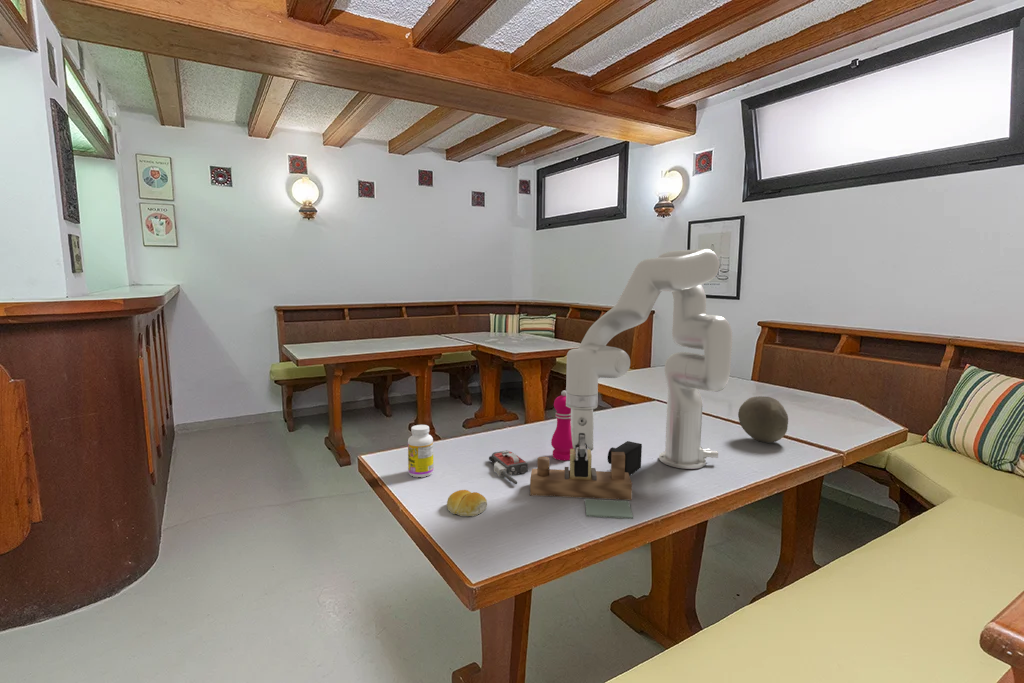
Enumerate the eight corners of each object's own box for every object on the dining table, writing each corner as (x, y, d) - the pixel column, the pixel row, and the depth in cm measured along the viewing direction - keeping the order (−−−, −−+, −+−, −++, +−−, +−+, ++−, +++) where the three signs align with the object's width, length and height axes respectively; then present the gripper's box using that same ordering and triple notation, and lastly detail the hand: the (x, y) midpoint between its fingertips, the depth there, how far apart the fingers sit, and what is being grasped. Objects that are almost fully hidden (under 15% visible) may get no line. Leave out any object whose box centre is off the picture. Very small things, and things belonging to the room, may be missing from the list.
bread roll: (461, 498, 117) (461, 482, 116) (492, 507, 112) (492, 490, 112) (438, 511, 110) (438, 494, 110) (470, 521, 105) (470, 504, 105)
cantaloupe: (761, 433, 168) (764, 390, 166) (797, 446, 154) (800, 400, 153) (728, 437, 163) (730, 393, 161) (761, 451, 150) (764, 403, 148)
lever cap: (590, 472, 122) (590, 447, 121) (591, 479, 117) (591, 453, 117) (569, 472, 122) (570, 446, 122) (570, 478, 118) (570, 452, 117)
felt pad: (628, 502, 114) (628, 500, 114) (633, 518, 106) (633, 517, 106) (584, 500, 115) (584, 498, 115) (586, 516, 107) (586, 514, 107)
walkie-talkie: (482, 463, 140) (512, 489, 123) (481, 448, 140) (512, 472, 122) (509, 458, 144) (542, 483, 126) (509, 444, 144) (543, 466, 126)
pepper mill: (574, 462, 140) (575, 393, 138) (549, 460, 142) (550, 392, 139) (576, 453, 147) (577, 388, 145) (552, 452, 149) (553, 387, 146)
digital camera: (622, 463, 140) (623, 439, 139) (641, 467, 136) (642, 443, 136) (606, 474, 131) (607, 449, 131) (625, 479, 128) (626, 453, 127)
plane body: (627, 487, 123) (628, 449, 121) (631, 500, 116) (633, 459, 114) (531, 483, 125) (532, 445, 124) (530, 495, 118) (530, 455, 117)
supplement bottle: (406, 471, 133) (405, 425, 132) (430, 467, 136) (429, 422, 134) (411, 480, 127) (410, 431, 126) (436, 476, 130) (435, 429, 128)
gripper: (600, 409, 109) (598, 483, 111) (595, 392, 126) (593, 457, 128) (566, 408, 110) (565, 482, 111) (565, 391, 127) (564, 456, 129)
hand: (580, 468), depth 120 cm, fingers open, 9 cm apart
